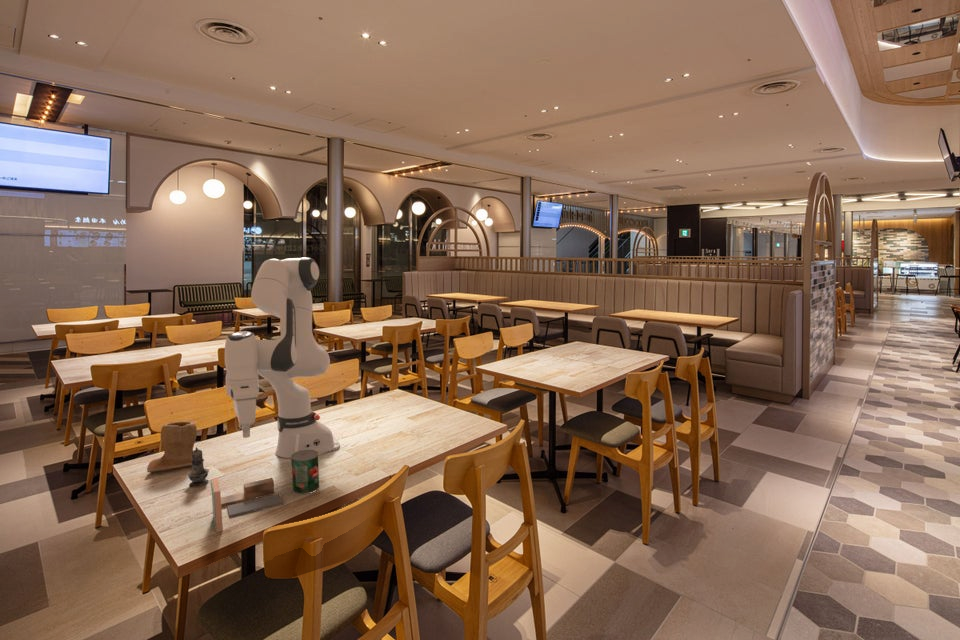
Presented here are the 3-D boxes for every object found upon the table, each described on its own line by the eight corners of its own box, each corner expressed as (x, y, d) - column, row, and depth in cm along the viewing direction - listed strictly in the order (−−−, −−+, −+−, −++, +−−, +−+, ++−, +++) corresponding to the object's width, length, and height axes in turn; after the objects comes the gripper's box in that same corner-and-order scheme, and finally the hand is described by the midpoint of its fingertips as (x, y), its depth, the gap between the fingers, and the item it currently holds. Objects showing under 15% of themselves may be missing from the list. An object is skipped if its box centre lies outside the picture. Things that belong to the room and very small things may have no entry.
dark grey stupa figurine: (190, 480, 156) (187, 444, 154) (210, 478, 158) (208, 442, 156) (186, 488, 150) (183, 451, 149) (207, 486, 152) (205, 449, 151)
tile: (219, 514, 136) (217, 477, 134) (222, 530, 128) (220, 490, 127) (213, 516, 135) (210, 478, 133) (215, 532, 127) (213, 492, 126)
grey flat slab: (279, 495, 147) (279, 493, 147) (283, 504, 142) (283, 502, 142) (227, 507, 139) (227, 505, 139) (229, 517, 134) (229, 515, 134)
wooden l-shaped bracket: (272, 488, 151) (271, 476, 151) (274, 494, 147) (274, 482, 147) (217, 501, 143) (216, 488, 143) (219, 508, 139) (218, 494, 139)
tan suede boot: (201, 455, 176) (198, 415, 174) (200, 467, 165) (198, 425, 163) (150, 463, 168) (147, 421, 166) (147, 477, 158) (143, 433, 156)
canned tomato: (321, 490, 150) (320, 456, 149) (294, 496, 146) (293, 462, 145) (316, 480, 157) (315, 447, 156) (290, 485, 153) (289, 452, 152)
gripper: (227, 381, 151) (229, 424, 152) (234, 395, 134) (236, 444, 135) (249, 379, 154) (251, 421, 156) (258, 392, 137) (260, 440, 138)
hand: (244, 432), depth 145 cm, fingers open, 8 cm apart
